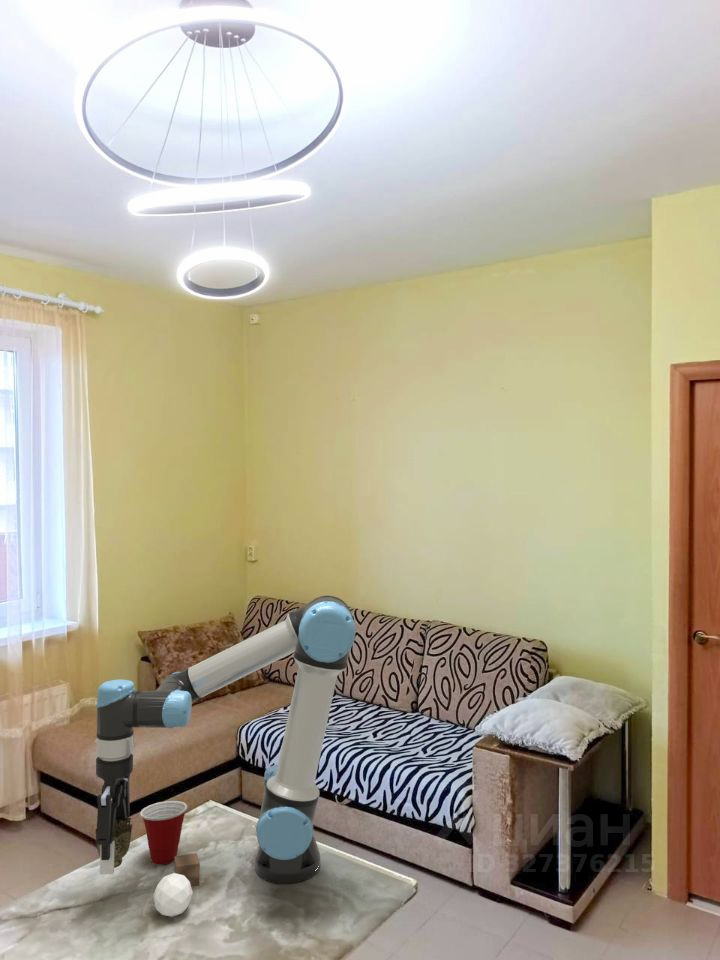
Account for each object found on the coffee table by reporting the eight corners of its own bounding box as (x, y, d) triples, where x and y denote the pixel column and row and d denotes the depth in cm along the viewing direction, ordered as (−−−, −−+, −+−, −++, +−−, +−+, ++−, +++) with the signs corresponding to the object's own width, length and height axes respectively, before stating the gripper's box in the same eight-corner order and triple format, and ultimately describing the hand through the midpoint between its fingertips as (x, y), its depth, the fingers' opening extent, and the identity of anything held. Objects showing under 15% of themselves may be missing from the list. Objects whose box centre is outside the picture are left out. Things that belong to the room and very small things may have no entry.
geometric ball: (178, 920, 150) (200, 882, 153) (176, 928, 143) (198, 887, 146) (148, 901, 150) (170, 863, 154) (143, 908, 143) (167, 868, 146)
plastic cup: (166, 843, 178) (167, 794, 178) (195, 856, 171) (196, 805, 172) (129, 860, 169) (130, 809, 169) (159, 875, 162) (160, 822, 163)
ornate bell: (119, 876, 148) (120, 837, 148) (87, 872, 149) (88, 833, 149) (138, 858, 155) (138, 821, 155) (107, 854, 156) (107, 817, 157)
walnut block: (196, 874, 163) (196, 852, 163) (199, 886, 159) (199, 863, 159) (173, 878, 162) (174, 856, 162) (176, 889, 157) (176, 866, 157)
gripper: (113, 739, 163) (111, 841, 162) (79, 772, 143) (77, 889, 142) (146, 739, 163) (144, 841, 162) (116, 773, 143) (115, 889, 142)
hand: (113, 863), depth 152 cm, fingers closed on ornate bell, 7 cm apart
